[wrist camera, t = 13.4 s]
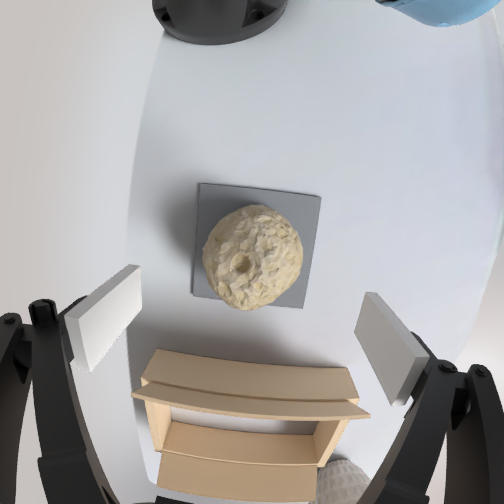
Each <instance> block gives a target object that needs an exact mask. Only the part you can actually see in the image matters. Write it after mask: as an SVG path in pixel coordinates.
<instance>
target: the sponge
mask: <svg viewBox="0 0 504 504" xmlns="http://www.w3.org/2000/svg"><path fill="white" fill-rule="evenodd" d="M202 251H203V257H202V260H203V265H204V268H205V270H206V275H207V282H208V285H209V286H210V287H211V289H212V290H213V291H214V292H215V293H216V294H217V296H218V297H220V298H221V299H222V300H224V301H225V303H227V304H228V305H229V306H231V307H233V308H236V309H239V310H247V311H248V310H255V309H257V308H259V307H262V306H265V305H267V304H269V303H272V302H274V300H275V299H276V298H278V297H279V296H280V295H281V294H282V293H283V292H284V291H285V290H287V289H289V287H290V286H291V285H292V284H293V283H294V282H295V281H296V279H297V277H298V276H299V274H300V269H301V266H302V261H303V247H302V245H301V241H300V238H299V236H298V232H297V231H296V230H295V229H294V228H293V227H292V225H291V223H290V222H289V221H288V220H287V219H286V218H285V217H283V216H282V215H281V214H280V213H278V212H277V210H273V209H271V208H269V207H266V206H264V205H262V204H261V205H249V206H245V207H242V208H239V209H237V211H234V212H232V213H229V214H227V216H226V217H224V218H222V219H221V220H219V222H218V223H217V224H216V226H215V227H214V228H213V229H212V231H211V232H210V234H209V236H208V241H207V242H206V243H205V246H204V247H203V248H202Z"/></svg>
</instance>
